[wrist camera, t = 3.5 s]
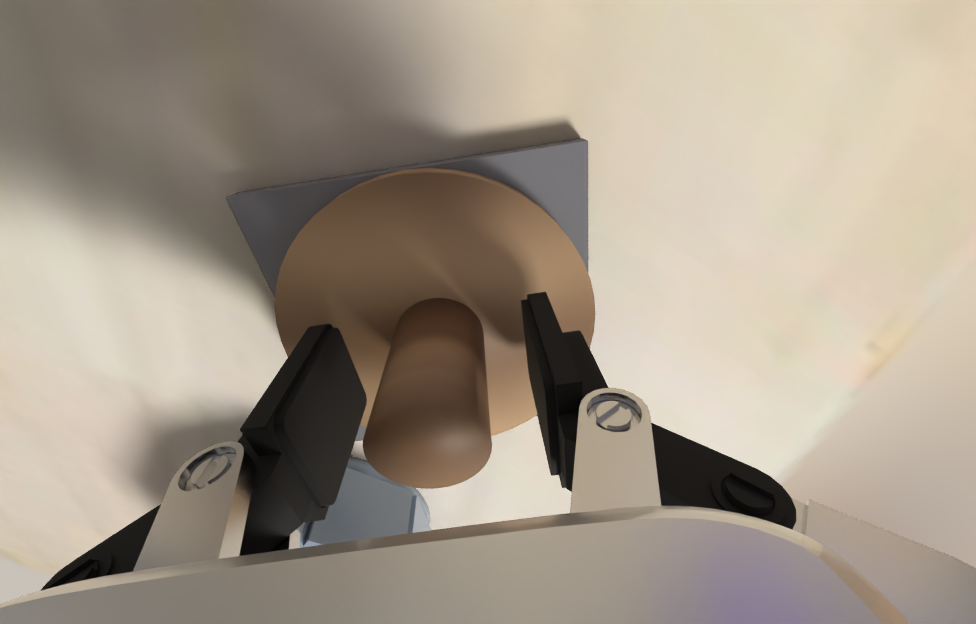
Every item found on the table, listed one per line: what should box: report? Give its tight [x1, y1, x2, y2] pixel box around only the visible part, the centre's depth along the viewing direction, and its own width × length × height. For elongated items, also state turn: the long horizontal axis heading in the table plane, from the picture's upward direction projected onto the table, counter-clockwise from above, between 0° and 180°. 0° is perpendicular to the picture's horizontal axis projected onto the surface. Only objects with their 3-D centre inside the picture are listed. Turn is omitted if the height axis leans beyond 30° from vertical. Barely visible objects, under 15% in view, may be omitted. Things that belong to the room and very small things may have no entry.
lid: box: [275, 168, 595, 488], centre depth 10 cm, size 10×10×5 cm
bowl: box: [299, 457, 431, 548], centre depth 17 cm, size 10×10×4 cm
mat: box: [226, 138, 588, 441], centre depth 13 cm, size 10×10×1 cm
